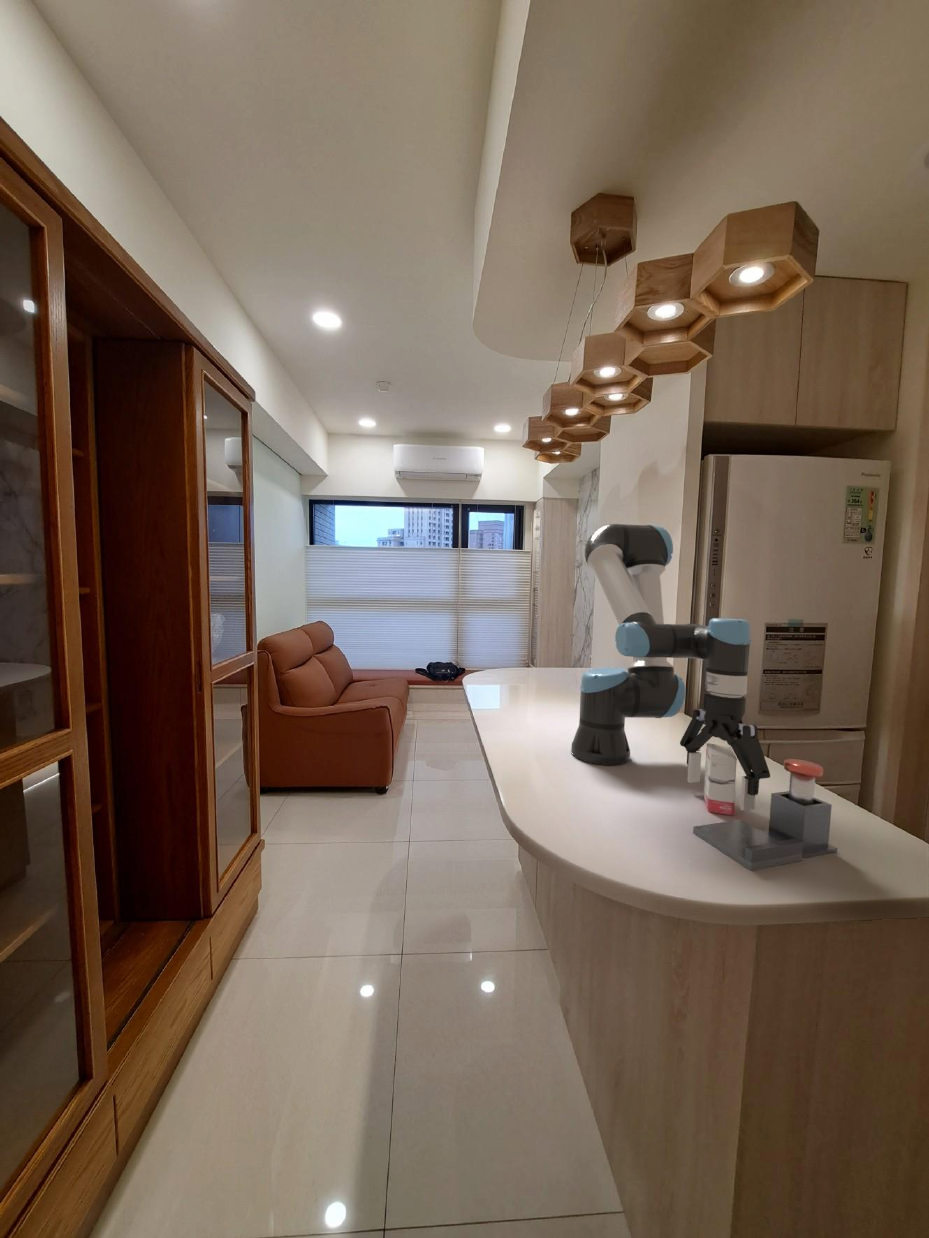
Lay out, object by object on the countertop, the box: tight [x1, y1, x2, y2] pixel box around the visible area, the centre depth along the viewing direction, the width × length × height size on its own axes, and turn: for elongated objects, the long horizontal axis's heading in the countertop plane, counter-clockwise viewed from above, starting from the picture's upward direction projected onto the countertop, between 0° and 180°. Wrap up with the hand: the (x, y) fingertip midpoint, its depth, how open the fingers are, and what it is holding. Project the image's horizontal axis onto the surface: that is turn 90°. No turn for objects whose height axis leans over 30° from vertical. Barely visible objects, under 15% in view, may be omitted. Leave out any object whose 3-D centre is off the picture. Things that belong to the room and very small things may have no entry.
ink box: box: [703, 742, 738, 816], centre depth 97 cm, size 9×5×12 cm, turn 158°
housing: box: [761, 790, 838, 859], centre depth 83 cm, size 8×8×8 cm
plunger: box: [783, 758, 824, 806], centre depth 83 cm, size 6×6×9 cm
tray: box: [692, 819, 803, 871], centre depth 82 cm, size 12×11×3 cm
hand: (718, 794), depth 98 cm, fingers open, 13 cm apart
